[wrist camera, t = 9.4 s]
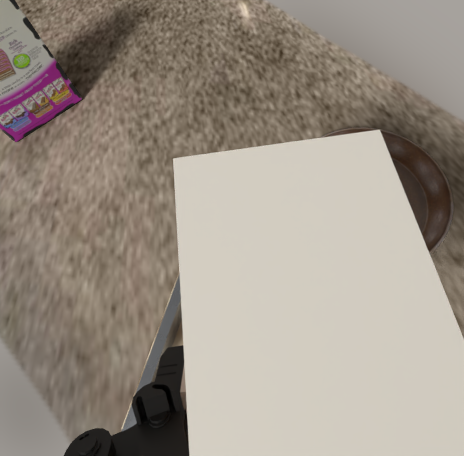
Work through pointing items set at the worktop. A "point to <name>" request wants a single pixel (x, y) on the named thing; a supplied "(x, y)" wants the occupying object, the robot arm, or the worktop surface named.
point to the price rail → (160, 345)
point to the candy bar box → (28, 77)
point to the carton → (312, 306)
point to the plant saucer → (418, 184)
